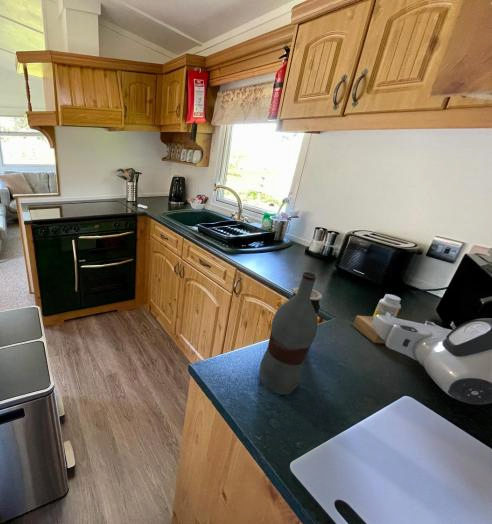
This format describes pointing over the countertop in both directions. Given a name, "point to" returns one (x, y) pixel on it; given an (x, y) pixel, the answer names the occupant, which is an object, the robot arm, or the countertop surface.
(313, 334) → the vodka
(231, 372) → the countertop surface
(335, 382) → the countertop surface
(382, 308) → the supplement bottle
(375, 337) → the oak block
